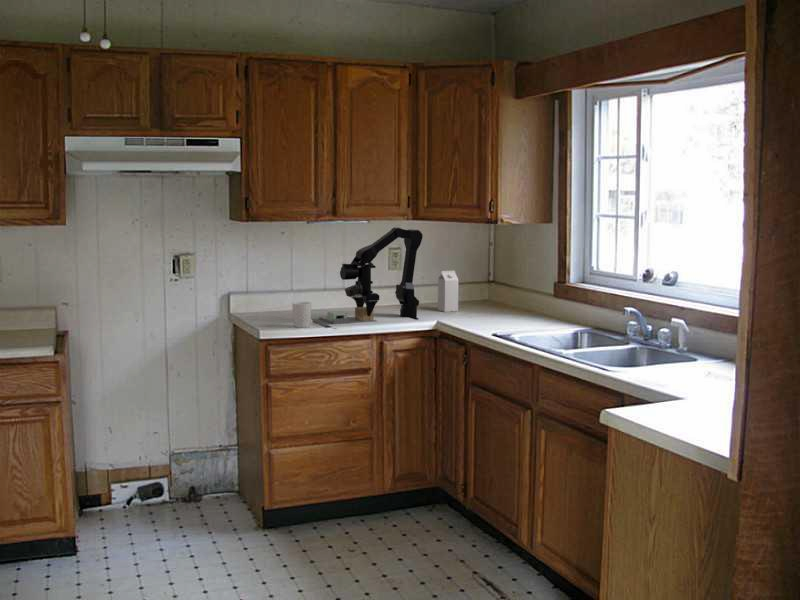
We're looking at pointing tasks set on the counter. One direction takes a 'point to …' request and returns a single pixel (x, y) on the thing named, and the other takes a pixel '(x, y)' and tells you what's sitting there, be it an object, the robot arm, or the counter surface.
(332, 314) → the housing
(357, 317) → the collar
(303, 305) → the white cup
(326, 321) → the board
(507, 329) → the counter surface
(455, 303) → the milk carton
